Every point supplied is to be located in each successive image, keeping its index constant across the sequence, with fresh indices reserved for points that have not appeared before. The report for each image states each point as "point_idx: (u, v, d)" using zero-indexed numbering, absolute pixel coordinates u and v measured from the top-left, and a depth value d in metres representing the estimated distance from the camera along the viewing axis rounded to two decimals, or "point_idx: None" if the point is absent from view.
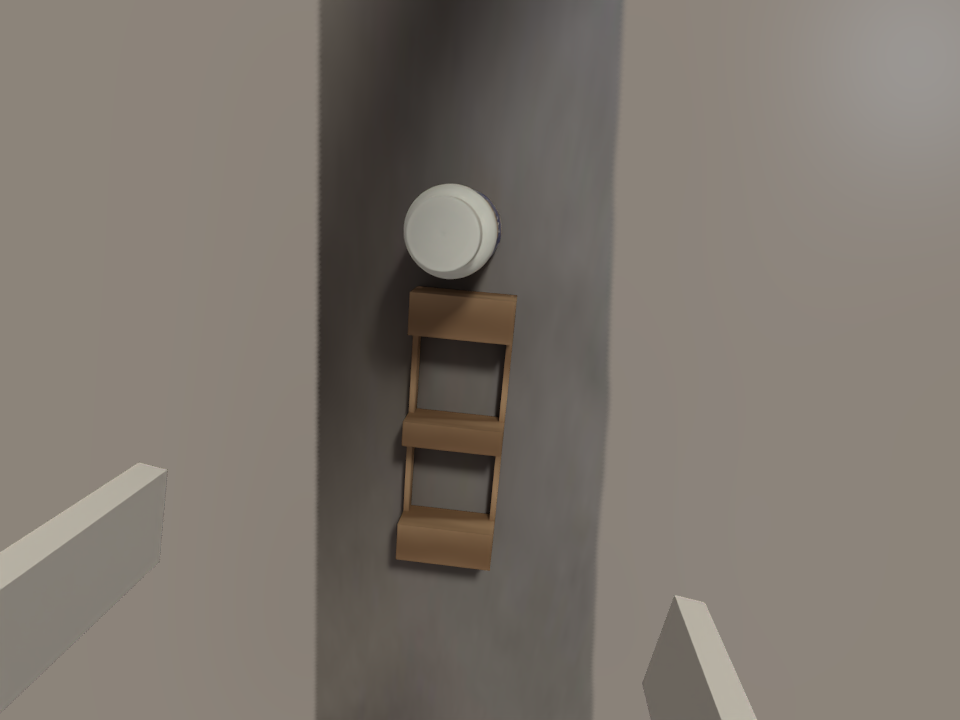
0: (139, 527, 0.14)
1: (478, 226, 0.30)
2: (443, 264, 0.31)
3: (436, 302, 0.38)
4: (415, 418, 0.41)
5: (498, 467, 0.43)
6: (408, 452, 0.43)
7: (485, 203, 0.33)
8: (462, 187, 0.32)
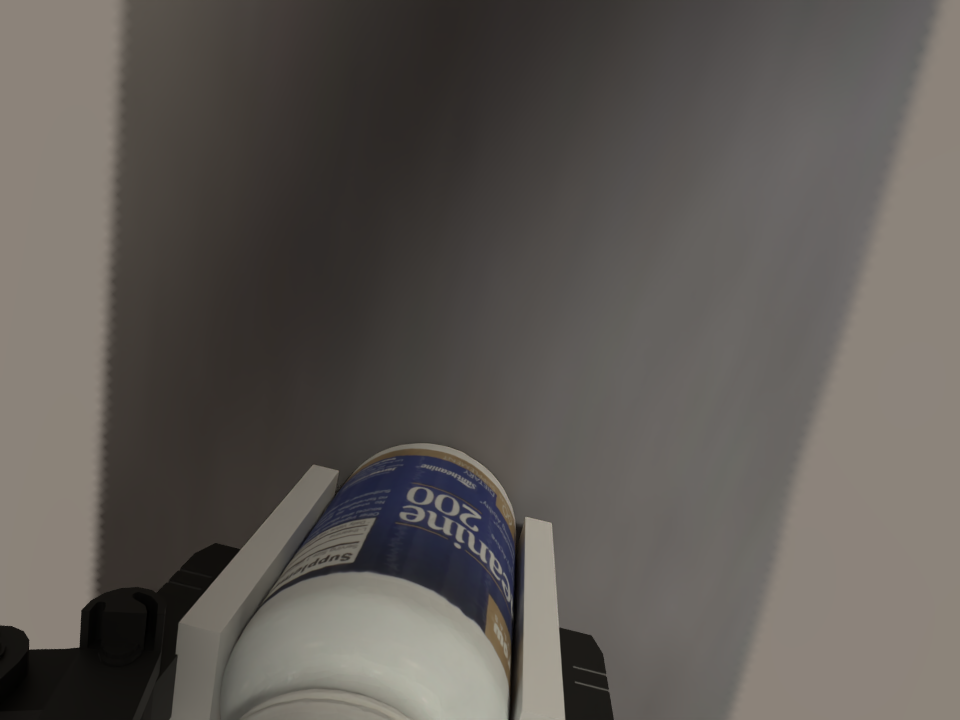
0: None
1: None
2: None
3: None
4: None
5: None
6: None
7: (484, 670, 0.10)
8: (416, 619, 0.10)
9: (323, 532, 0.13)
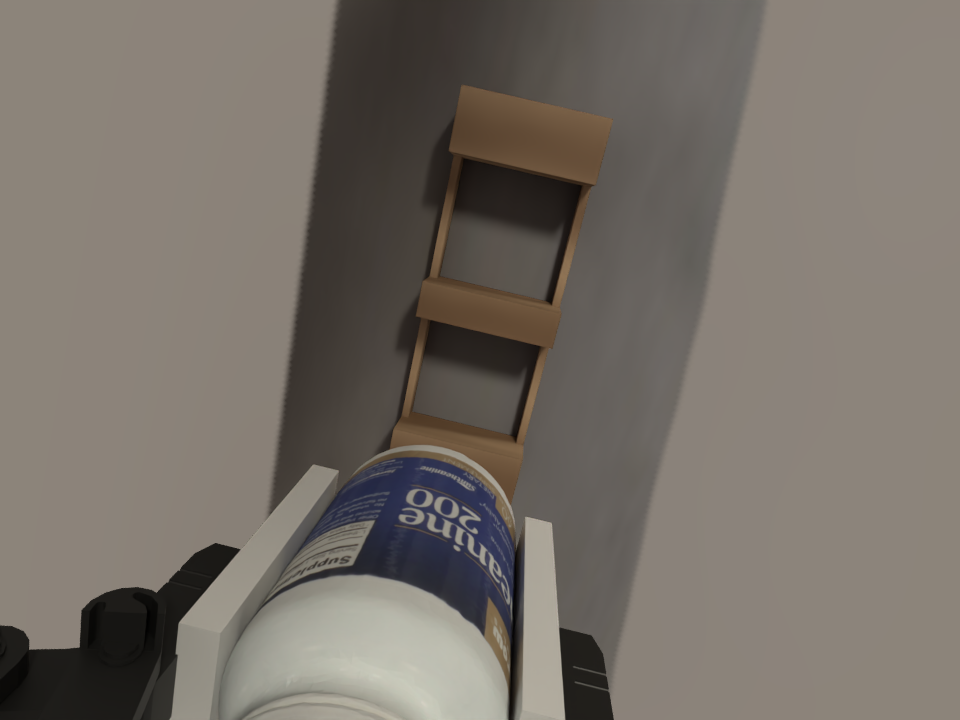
0: None
1: None
2: None
3: (497, 105, 0.26)
4: (439, 282, 0.30)
5: (540, 370, 0.31)
6: (420, 334, 0.32)
7: (484, 674, 0.10)
8: (415, 622, 0.10)
9: (322, 535, 0.13)
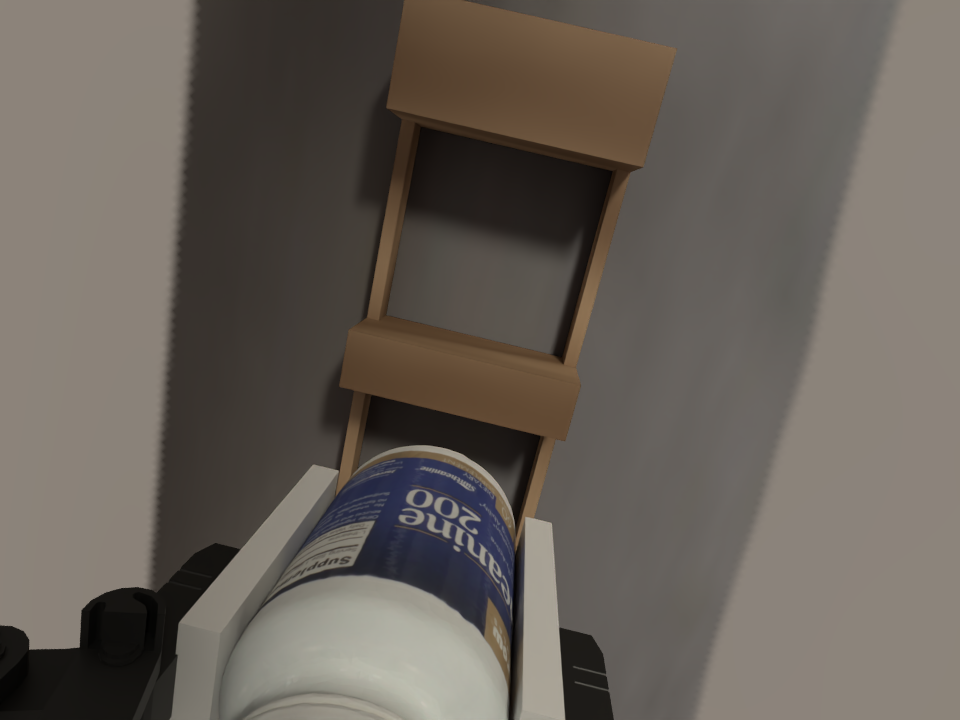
0: None
1: None
2: None
3: (471, 25, 0.15)
4: (379, 329, 0.18)
5: (545, 464, 0.20)
6: (355, 407, 0.20)
7: (484, 674, 0.10)
8: (415, 623, 0.10)
9: (322, 535, 0.13)
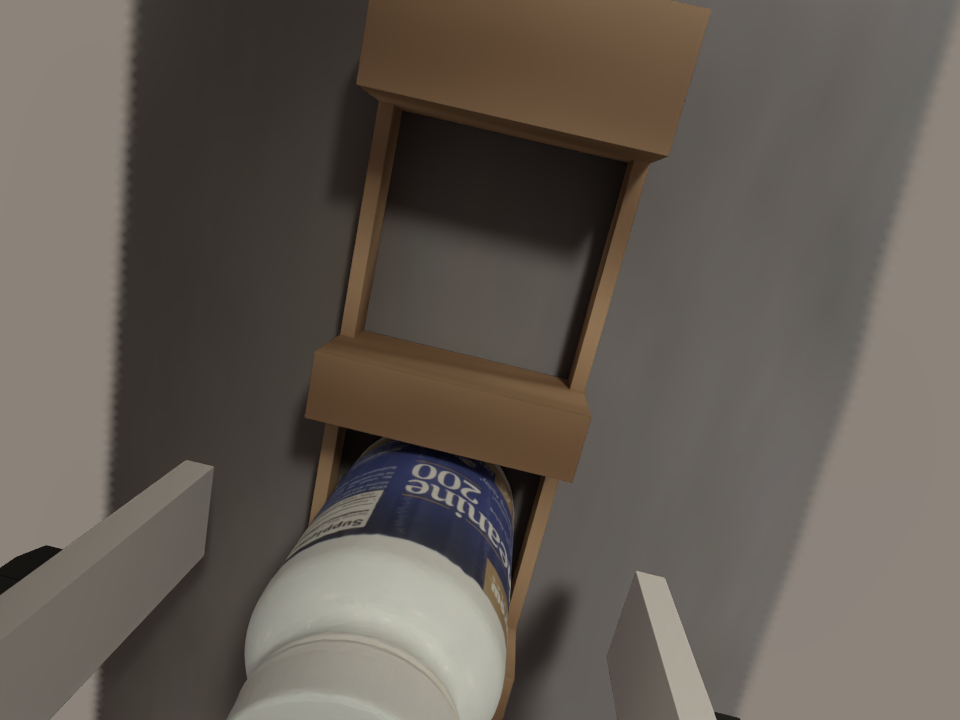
0: (189, 522, 0.14)
1: None
2: None
3: None
4: (353, 349, 0.15)
5: (548, 504, 0.17)
6: (328, 437, 0.17)
7: (482, 621, 0.11)
8: (421, 574, 0.11)
9: (335, 503, 0.14)
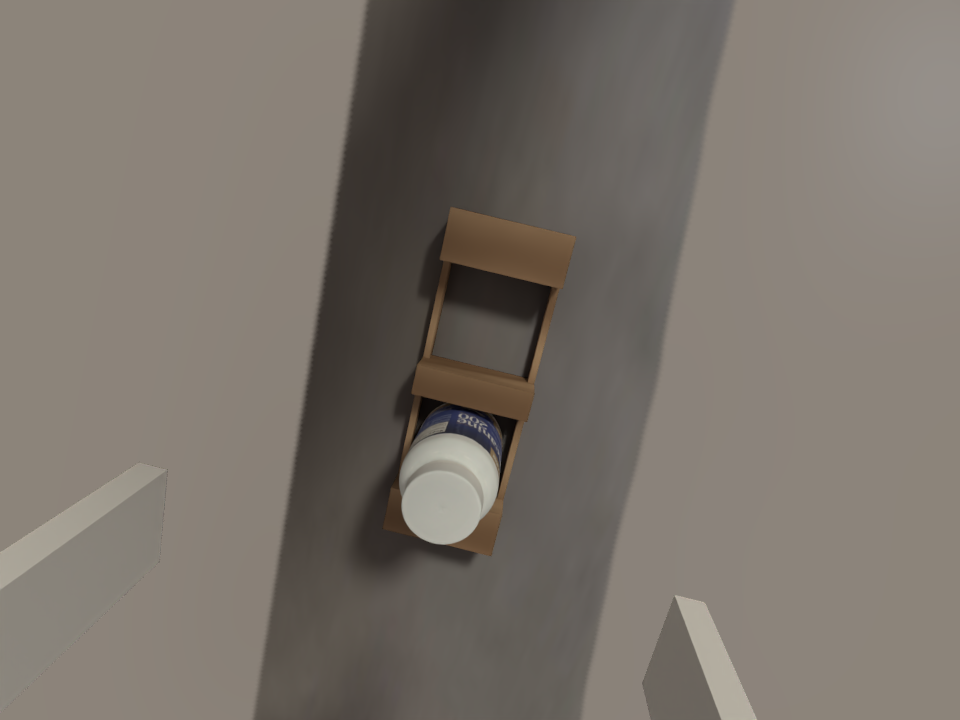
0: (139, 527, 0.14)
1: (480, 506, 0.28)
2: (437, 537, 0.29)
3: (480, 224, 0.32)
4: (431, 364, 0.35)
5: (518, 436, 0.37)
6: (415, 405, 0.37)
7: (490, 463, 0.31)
8: (468, 445, 0.30)
9: (428, 427, 0.33)
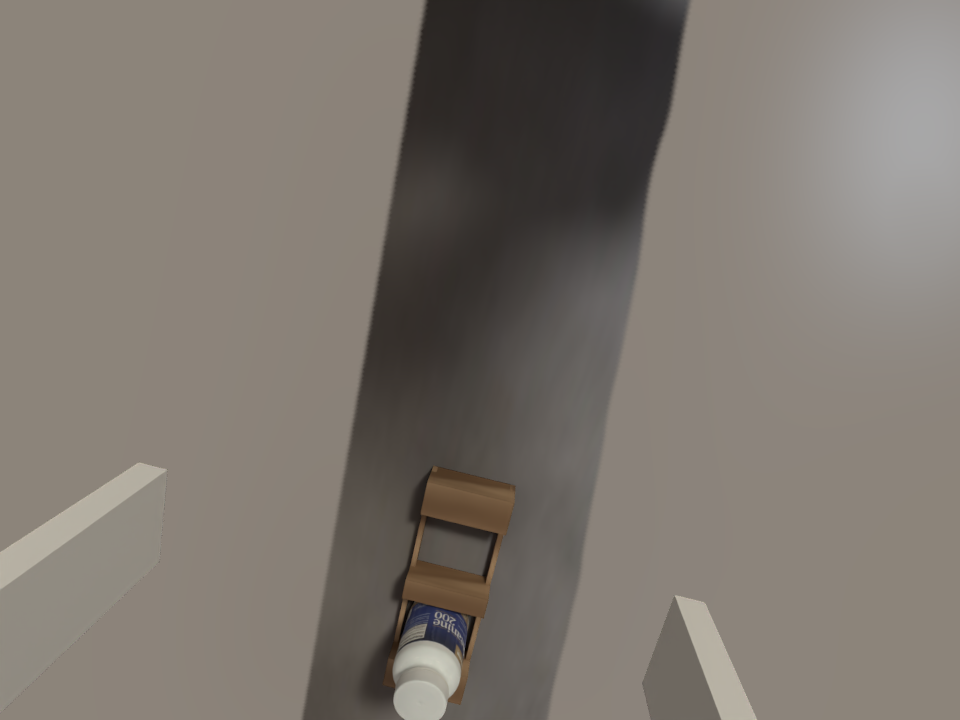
0: (139, 527, 0.14)
1: (445, 702, 0.43)
2: None
3: (448, 493, 0.46)
4: (416, 575, 0.49)
5: (479, 619, 0.51)
6: None
7: (454, 663, 0.45)
8: (439, 651, 0.45)
9: (413, 627, 0.47)
